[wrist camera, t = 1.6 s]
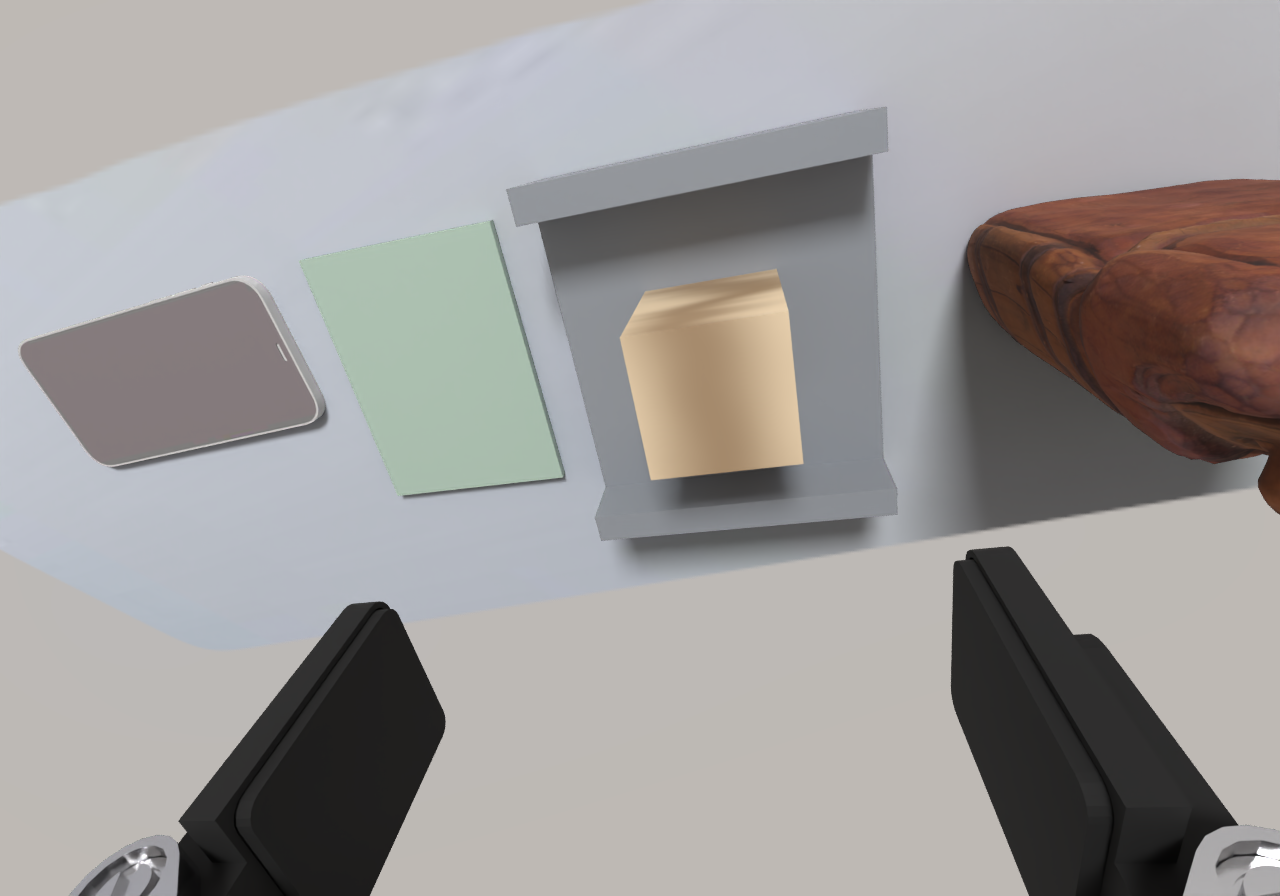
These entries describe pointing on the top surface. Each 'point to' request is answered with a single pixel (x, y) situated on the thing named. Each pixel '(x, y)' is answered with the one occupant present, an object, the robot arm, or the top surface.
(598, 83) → the top surface
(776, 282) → the beech block
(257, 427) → the smartphone
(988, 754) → the robot arm
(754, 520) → the gray u-shaped channel
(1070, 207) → the wooden figurine
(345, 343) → the sage mat
